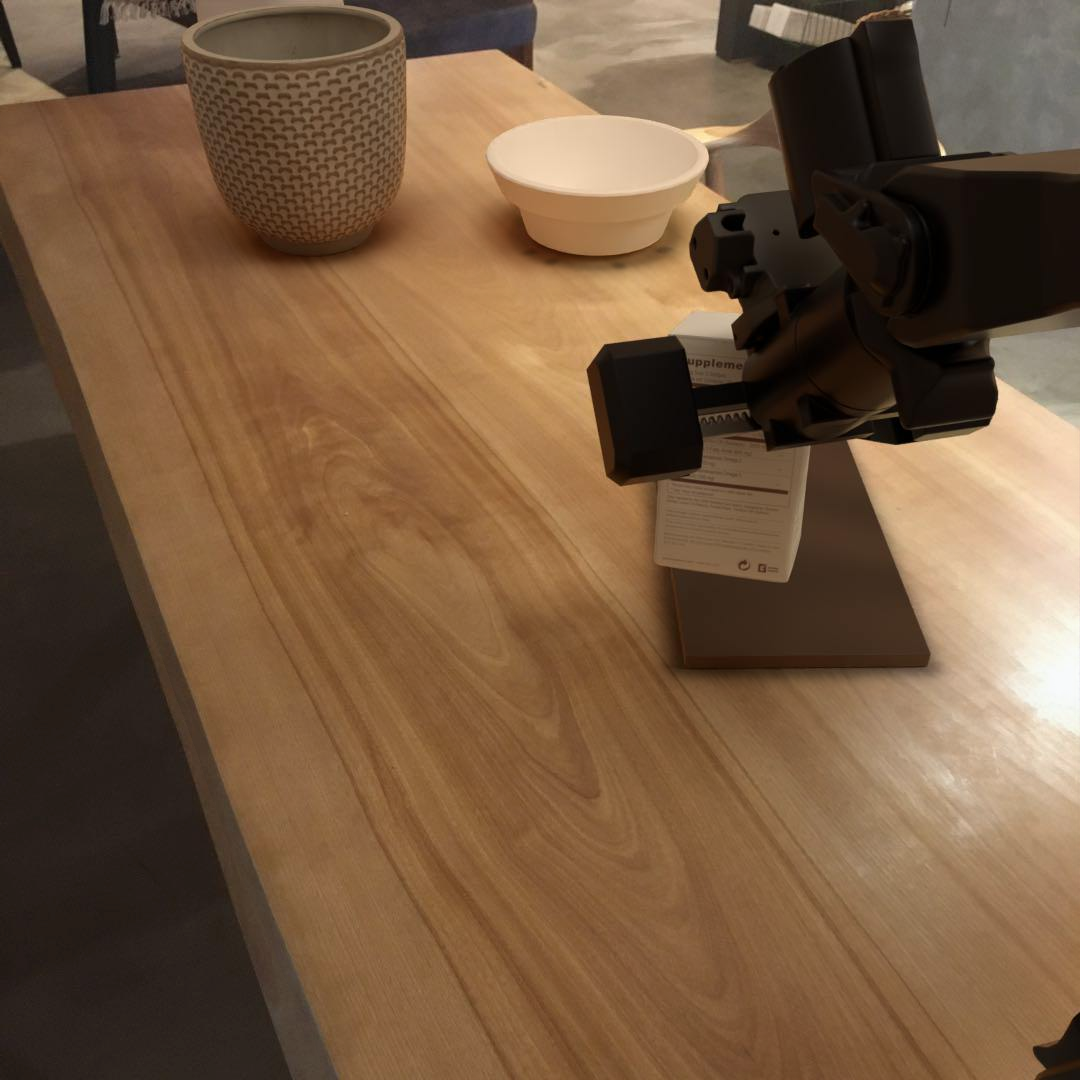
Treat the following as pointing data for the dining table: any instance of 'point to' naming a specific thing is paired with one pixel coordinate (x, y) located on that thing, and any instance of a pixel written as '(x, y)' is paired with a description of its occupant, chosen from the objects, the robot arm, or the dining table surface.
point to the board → (809, 591)
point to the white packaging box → (730, 480)
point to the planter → (302, 119)
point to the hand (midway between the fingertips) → (735, 433)
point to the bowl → (596, 179)
